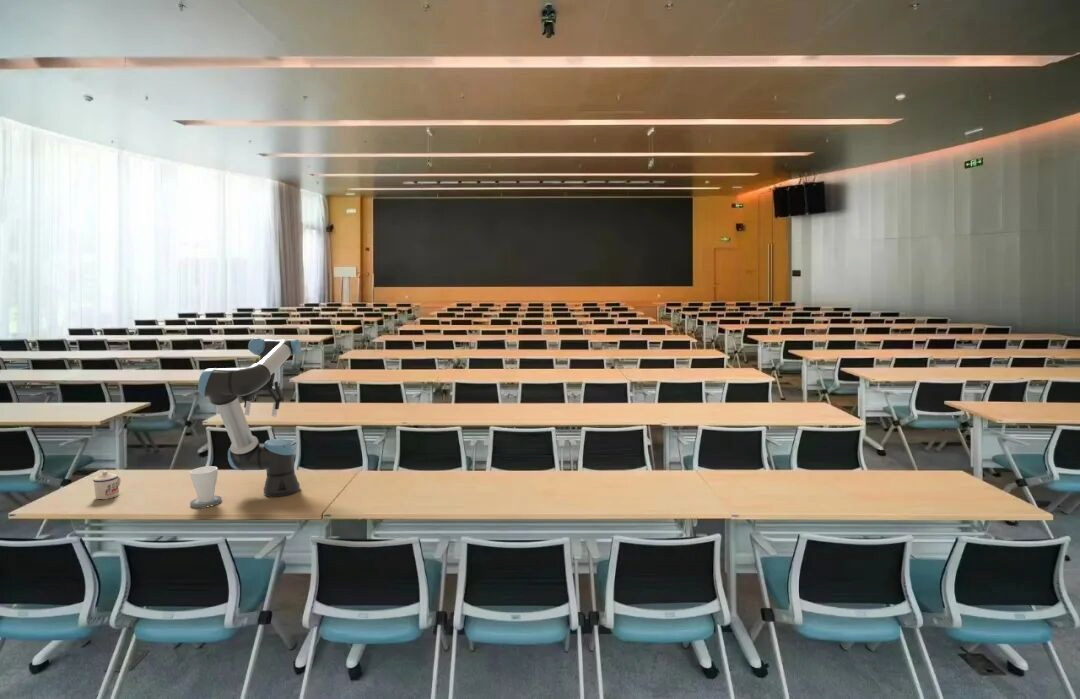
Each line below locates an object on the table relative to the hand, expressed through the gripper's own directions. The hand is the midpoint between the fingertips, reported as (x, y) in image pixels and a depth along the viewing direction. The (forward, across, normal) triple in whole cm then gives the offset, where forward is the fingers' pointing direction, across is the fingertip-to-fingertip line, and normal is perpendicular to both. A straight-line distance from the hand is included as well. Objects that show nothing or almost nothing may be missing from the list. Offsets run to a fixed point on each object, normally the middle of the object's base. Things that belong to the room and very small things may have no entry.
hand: (260, 415), depth 295 cm
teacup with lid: (+40, +58, +12) cm, 72 cm away
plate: (+40, +8, +20) cm, 45 cm away
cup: (+39, +8, +20) cm, 45 cm away
